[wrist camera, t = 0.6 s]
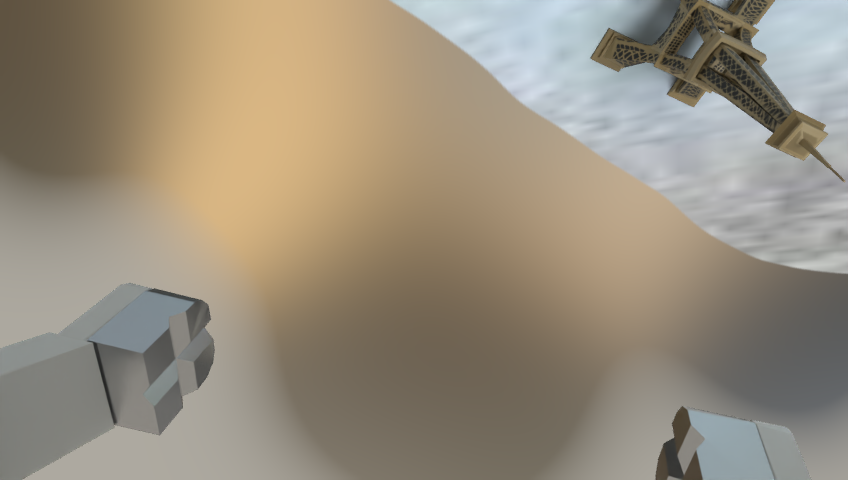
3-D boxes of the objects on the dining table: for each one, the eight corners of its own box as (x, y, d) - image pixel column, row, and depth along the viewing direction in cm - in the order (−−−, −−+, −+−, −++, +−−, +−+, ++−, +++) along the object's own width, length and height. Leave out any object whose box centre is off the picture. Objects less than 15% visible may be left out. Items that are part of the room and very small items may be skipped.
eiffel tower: (779, -10, 46) (1030, 130, 26) (692, 105, 52) (842, 292, 32) (667, -70, 44) (847, 33, 24) (590, 57, 50) (682, 225, 30)
